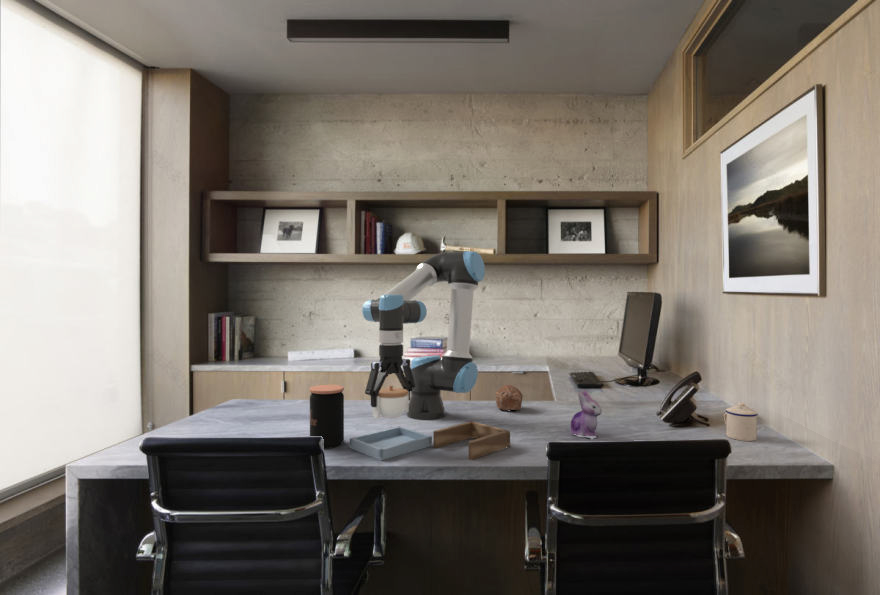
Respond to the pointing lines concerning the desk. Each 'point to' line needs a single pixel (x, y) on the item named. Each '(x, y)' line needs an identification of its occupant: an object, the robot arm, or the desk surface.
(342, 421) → the coffee jar
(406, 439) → the tray
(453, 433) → the dock
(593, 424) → the figurine
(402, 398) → the lidded jar
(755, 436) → the teacup with lid
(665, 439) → the desk surface
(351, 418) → the desk surface
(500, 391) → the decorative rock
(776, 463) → the desk surface
